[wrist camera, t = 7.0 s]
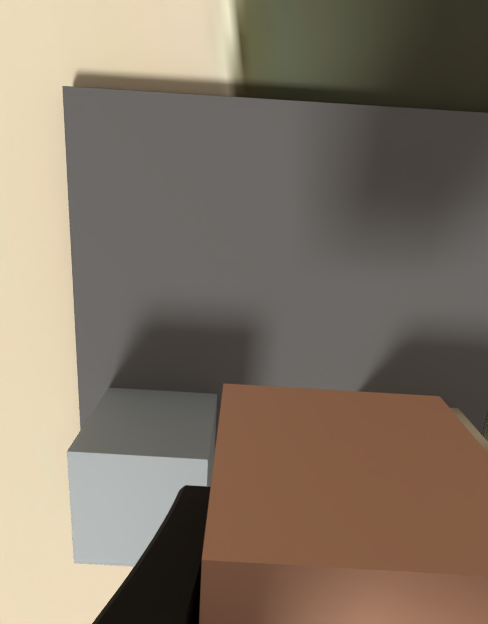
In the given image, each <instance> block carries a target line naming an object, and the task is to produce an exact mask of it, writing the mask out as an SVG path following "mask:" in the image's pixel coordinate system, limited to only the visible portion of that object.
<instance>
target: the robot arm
mask: <svg viewBox="0 0 488 624" xmlns="http://www.w3.org/2000/svg"><path fill="white" fill-rule="evenodd" d="M210 488H211V487H209V486H191V485H185V486H184V487H182V488H181V489H180V490H179V492H178V494H177V496H176V498H175V500H174V502H173V504H172V506H171V508H170V510H169V512H168V514H167V515H166V517H165V519H164V521H163V522H162V524H161V526H160V527H159V529H158V531H157V532H156V534H155V536H154V537H153V539H152V541H151V542H150V544H149V545H148V547H147V548H146V550H145V551H144V553H143V554H142V556H141V557H140V559H139V560H138V562H137V563H136V565H135V566H134V568H133V569H132V571H131V572H130V574H129V575H128V576H127V578H126V579H125V581H124V582H123V583H122V585H121V586H120V587H119V589H118V590H117V591H116V593H115V594H114V595H113V597H112V598H111V599H110V601H109V602H108V603H107V605H106V606H105V607H104V609H103V610H102V611H101V613H100V614H99V615H98V617H97V618H96V619H95V621H94V622H93V623H92V624H199V615H200V590H201V565H202V553H203V545H204V537H205V529H206V521H207V513H208V505H209V497H210Z"/></svg>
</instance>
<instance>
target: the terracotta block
mask: <svg viewBox="0 0 488 624" xmlns="http://www.w3.org/2000/svg"><path fill="white" fill-rule="evenodd" d="M199 624H488V453H487V452H486V450H485V449H484V448H483V447H482V446H481V444H480V443H479V442H478V441H477V440H476V439H475V437H474V436H473V435H472V434H471V433H470V431H469V430H468V429H467V428H466V427H465V426H464V424H463V423H462V422H461V421H460V420H459V418H458V417H457V416H456V415H455V414H454V413H453V411H452V410H451V409H450V408H449V407H448V405H447V404H446V403H445V402H444V401H443V400H442V398H441V397H440V396H428V395H411V394H394V393H377V392H360V391H343V390H326V389H309V388H292V387H275V386H258V385H241V384H224V383H223V391H222V399H221V407H220V415H219V423H218V432H217V440H216V448H215V456H214V464H213V472H212V480H211V488H210V497H209V505H208V513H207V521H206V529H205V537H204V545H203V553H202V565H201V590H200V615H199Z"/></svg>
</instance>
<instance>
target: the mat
mask: <svg viewBox="0 0 488 624" xmlns="http://www.w3.org/2000/svg"><path fill="white" fill-rule="evenodd" d="M63 105H64V124H65V143H66V162H67V181H68V200H69V219H70V238H71V257H72V276H73V295H74V314H75V333H76V352H77V371H78V390H79V409H80V428H81V429H82V428H83V426H84V425H85V423H86V422H87V420H88V418H89V417H90V415H91V414H92V412H93V411H94V409H95V408H96V406H97V405H98V403H99V402H100V400H101V398H102V397H103V395H104V394H105V392H106V391H107V389H108V388H125V389H142V390H159V391H176V392H193V393H210V394H217V414H216V435H215V448H216V440H217V432H218V423H219V415H220V407H221V399H222V391H223V383H224V384H241V385H258V386H275V387H292V388H309V389H326V390H343V391H360V392H377V393H394V394H411V395H428V396H440V397H441V398H442V400H443V401H444V402H445V403H446V404H447V405H448V407H449V408H458V409H459V410H460V411H461V412H462V413H463V414H464V415H465V417H466V418H467V419H468V420H469V421H470V422H471V423H472V425H473V426H474V427H475V428H476V429H477V430H478V431H479V432H480V434H481V435H482V433H483V429H484V425H485V421H486V416H487V412H488V113H482V112H466V111H450V110H434V109H418V108H402V107H387V106H371V105H355V104H339V103H323V102H307V101H291V100H276V99H260V98H244V97H228V96H212V95H196V94H180V93H165V92H149V91H133V90H117V89H101V88H85V87H69V86H63Z"/></svg>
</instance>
